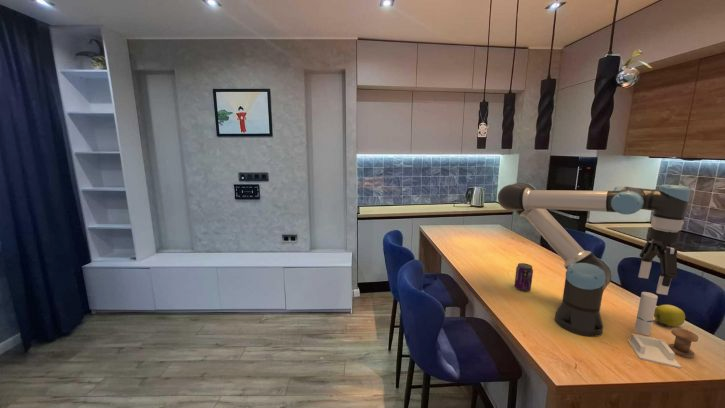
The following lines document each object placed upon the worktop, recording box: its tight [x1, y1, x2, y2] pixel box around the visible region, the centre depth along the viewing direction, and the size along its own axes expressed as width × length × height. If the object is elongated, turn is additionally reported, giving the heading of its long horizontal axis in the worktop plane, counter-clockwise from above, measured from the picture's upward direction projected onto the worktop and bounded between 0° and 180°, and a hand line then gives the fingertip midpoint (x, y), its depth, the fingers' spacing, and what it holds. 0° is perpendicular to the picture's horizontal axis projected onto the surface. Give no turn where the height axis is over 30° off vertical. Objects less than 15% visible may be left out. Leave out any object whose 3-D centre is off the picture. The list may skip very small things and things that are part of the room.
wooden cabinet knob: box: [667, 327, 699, 359], centre depth 98 cm, size 6×6×7 cm
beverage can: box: [514, 262, 534, 292], centre depth 142 cm, size 7×7×12 cm
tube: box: [633, 291, 659, 336], centre depth 108 cm, size 4×4×15 cm
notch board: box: [627, 333, 682, 369], centre depth 98 cm, size 10×10×3 cm
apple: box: [654, 304, 686, 327], centre depth 113 cm, size 8×9×8 cm
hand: (651, 285), depth 107 cm, fingers open, 13 cm apart
